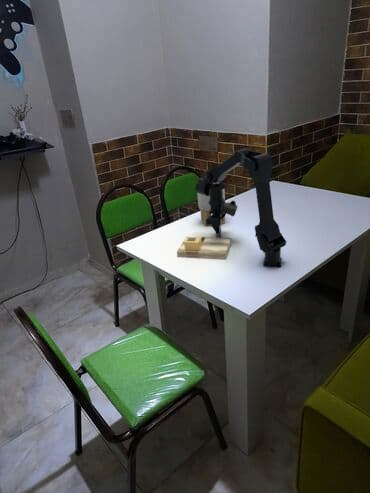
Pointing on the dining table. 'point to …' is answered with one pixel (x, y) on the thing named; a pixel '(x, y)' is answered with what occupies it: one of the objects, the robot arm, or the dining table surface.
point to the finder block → (193, 243)
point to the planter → (206, 206)
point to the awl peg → (219, 233)
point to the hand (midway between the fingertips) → (218, 232)
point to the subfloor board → (208, 248)
